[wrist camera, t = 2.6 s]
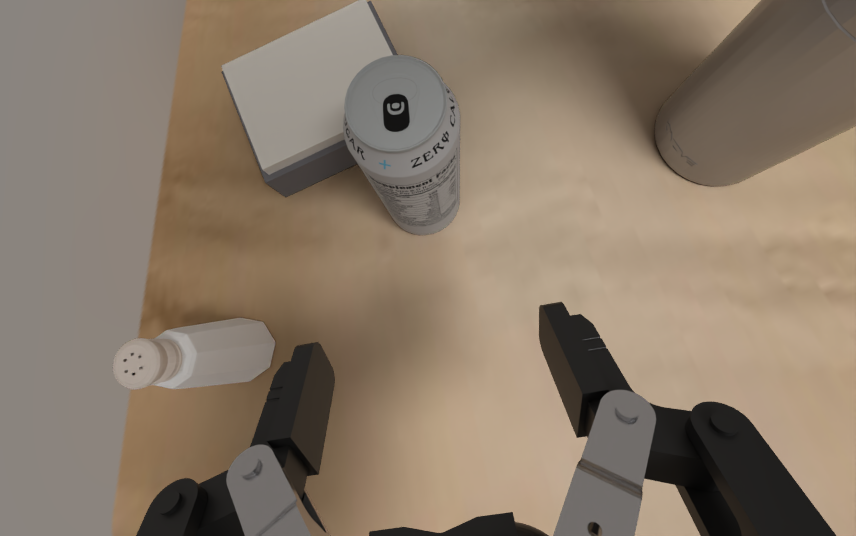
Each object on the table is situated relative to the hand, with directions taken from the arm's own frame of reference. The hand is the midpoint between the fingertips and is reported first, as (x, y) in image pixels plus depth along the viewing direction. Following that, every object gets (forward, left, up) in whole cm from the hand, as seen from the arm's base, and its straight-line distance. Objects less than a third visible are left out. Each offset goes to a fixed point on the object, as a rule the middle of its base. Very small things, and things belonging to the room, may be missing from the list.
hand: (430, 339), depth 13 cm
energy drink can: (-3, -11, -17) cm, 20 cm away
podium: (+1, -22, -17) cm, 28 cm away
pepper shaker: (+16, -6, -17) cm, 24 cm away
